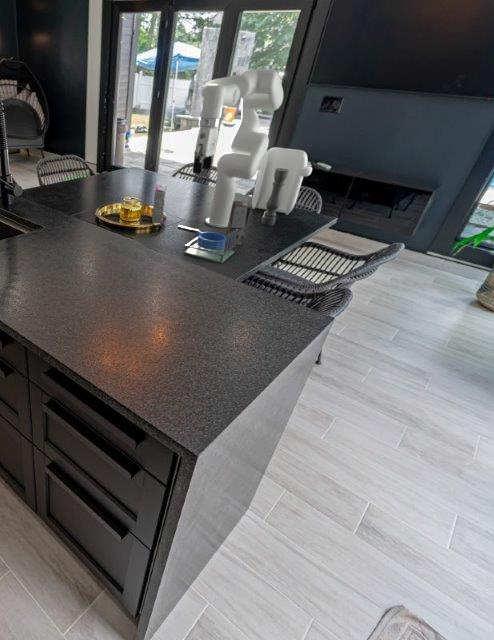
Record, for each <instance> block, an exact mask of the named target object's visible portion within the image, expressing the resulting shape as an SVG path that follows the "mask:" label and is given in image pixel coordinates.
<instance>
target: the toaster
mask: <svg viewBox="0 0 494 640" xmlns="http://www.w3.org/2000/svg"><path fill="white" fill-rule="evenodd" d="M308 160H309V159H308V154H307V152H306V151H304V150H301V149H294V148H293V149H292V148H285V147H276V146H275V147H271V148H270V149H267V151H266V153H265V155H264V157H263V159H262V161H261V163H260V165H259V167H258V169H257V171H258V172H257V177H256V180H255V185H254V189H253V193H252V197H251V209H252V210H255V209H259V210H260V209H261V210H266V211H267V207H266V202H267V200H268V199H269V197H270V195H271V193H272V189H273V184H272V183H273V182H275V180H274V174H275V170H276V168H283V169H288V170H289V172H288V175H287V178H286V180H285V181H284V182H283V183H284V186H283V187H282V189H281V193H280V206H279V207H278V208H277V209H276V211H275V212H276V213H283V214H285V216H288V215H289V214H290V213H291V212H292V211H293V209H294V207H295V205H296V202H297V199H298V196H299V193H300V189H301V187H302V186H301V185H302V182H303V180H304V177H308V176H310V175H311V174H312V172H313V167H312V166H310V165H308Z"/></svg>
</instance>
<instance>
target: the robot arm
mask: <svg viewBox="0 0 494 640" xmlns="http://www.w3.org/2000/svg"><path fill="white" fill-rule="evenodd" d="M283 88H284V87H283V85H282V80H281V75H280V74H279V73H278V71H277V70H275V69H271V68H269V69H268V68H252V69H249V70H246V71H244V72H241V73H239V74H235V75H229V76H223V77H219V78H214V79H212V80H210V81H207V82H205V84H204V85H203V86H202V88H201V90H200V94H199V95H200V102H201V108H200V109H201V110H200V116H199V122H198V123H199V124H198V128H199V130H198V134H197V139H196V144H195V150H194V152H193V153H194V156H193V167H192V173H193V174H198V175H200V174H201V173H202V169H203V170H207V171H209V170H211V168H212V161H213V157H214V155H215V154H216V151H217V145H218V135H219V128H220V125H221V120H222V119H221V117H222V113H223V108H230V107H233V106H234V105H236V104H237V103H238V101H239V100H241V117H240V118H241V120H240V122H239V125H238V126H237V128H236V131H235V132H234V135H233V137H232V139H231V141H230V145H229V149H230V151H231V152H224V153H222V154H221V155H220V156H219V157H218V159H217V163H216V179H215V186H214V191H213V196H212V202H211V208H210V213H209V217H207V218H206V219H205V224H206V225H208V226H209V227H214V228H221V229H223V228H224V229H225V228H226V229H227V227H228V222H229V218H230V213H231V208H232V204H233V201H235V196H236V193H237V181H236V179H235V178H238V179H242V180H250V179H252V178H253V177H254V176H255V175H256V174H257V171H258V170H257V169H258V167H259V165H260V163H261V161H262V159H263V157H264V155H265V153H266V152H267V151H268V147H269V145H270V144H269V143H270V139H269V136H268V135H267V133H264V132H260V131H258V130H259V129H260V126H261V121H260V118H259V115H258V113H257V112H256V111H257V110H258V111H269V112H274V111H277V110H278V109H280V107H281V106H282V104H283V101H284V89H283Z"/></svg>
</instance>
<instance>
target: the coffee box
mask: <svg viewBox="0 0 494 640" xmlns="http://www.w3.org/2000/svg"><path fill="white" fill-rule="evenodd" d="M251 209H252V206H251V205H250V202H248V201H243V200H234V201H233V204H232V208H231V213H230V218H229V222H228V227H226V233H225V237H226V240H227V236H228V235H229V237H230V233H232V234H233V231H235V230H236V229H238V230H237V234H236V239H235V243H234V244H236V246H237V245H238V246H242V245H243V240H244V237H245V234H246V232H245V231H246V229H247V225H248V221H249V218H250V217H249V216H250V213H251ZM234 235H235V234H234ZM231 238H232V237H231ZM233 239H234V238H233ZM228 242H229V240H228ZM230 243H231V241H230ZM232 244H233V242H232Z"/></svg>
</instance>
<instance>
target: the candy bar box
mask: <svg viewBox="0 0 494 640" xmlns="http://www.w3.org/2000/svg"><path fill="white" fill-rule="evenodd" d="M155 186H156V187H155V189H154V196H153V197H154V198H153V208H152V218H151V224H152V223H154V222H155V223H160V224H158V225H156V226H155V227H162V225H163V221H164V212H165V205H166V204H165V203H166V194H167V187H168V185H167V184H156V185H155Z"/></svg>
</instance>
